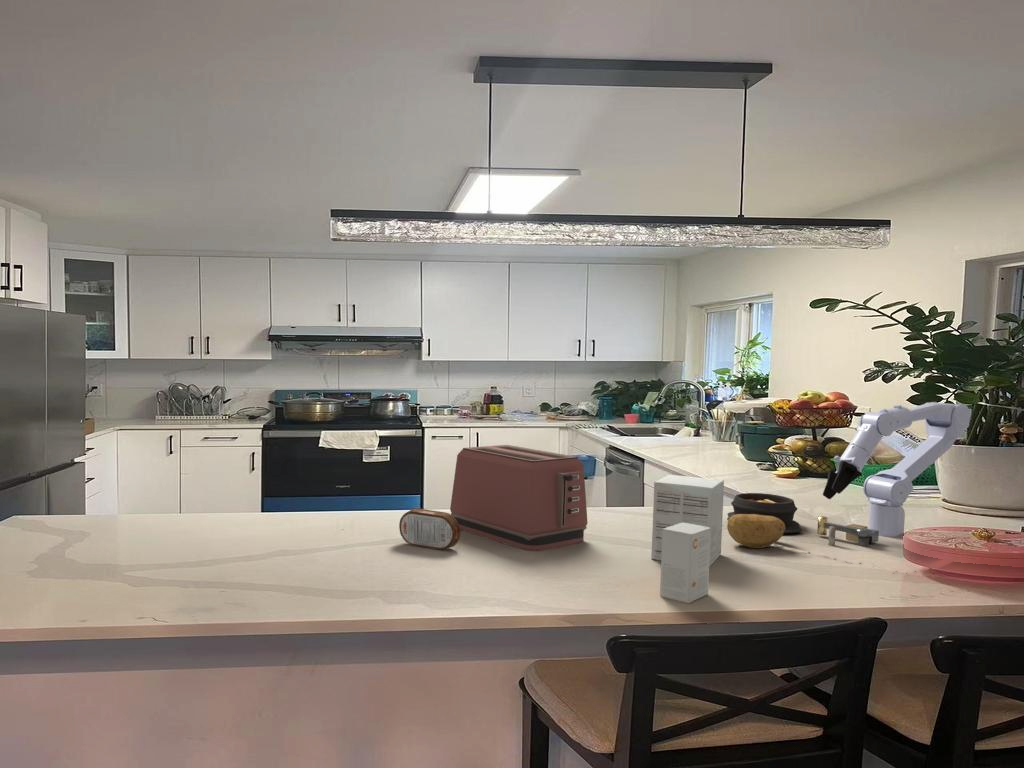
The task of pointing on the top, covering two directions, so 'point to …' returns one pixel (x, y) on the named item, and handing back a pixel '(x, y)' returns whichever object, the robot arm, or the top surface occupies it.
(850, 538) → the nut block
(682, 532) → the small box
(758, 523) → the potato
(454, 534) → the tin
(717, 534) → the supplement box
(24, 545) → the top surface
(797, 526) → the casserole
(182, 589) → the top surface
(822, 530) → the lever
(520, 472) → the toaster
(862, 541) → the press base
